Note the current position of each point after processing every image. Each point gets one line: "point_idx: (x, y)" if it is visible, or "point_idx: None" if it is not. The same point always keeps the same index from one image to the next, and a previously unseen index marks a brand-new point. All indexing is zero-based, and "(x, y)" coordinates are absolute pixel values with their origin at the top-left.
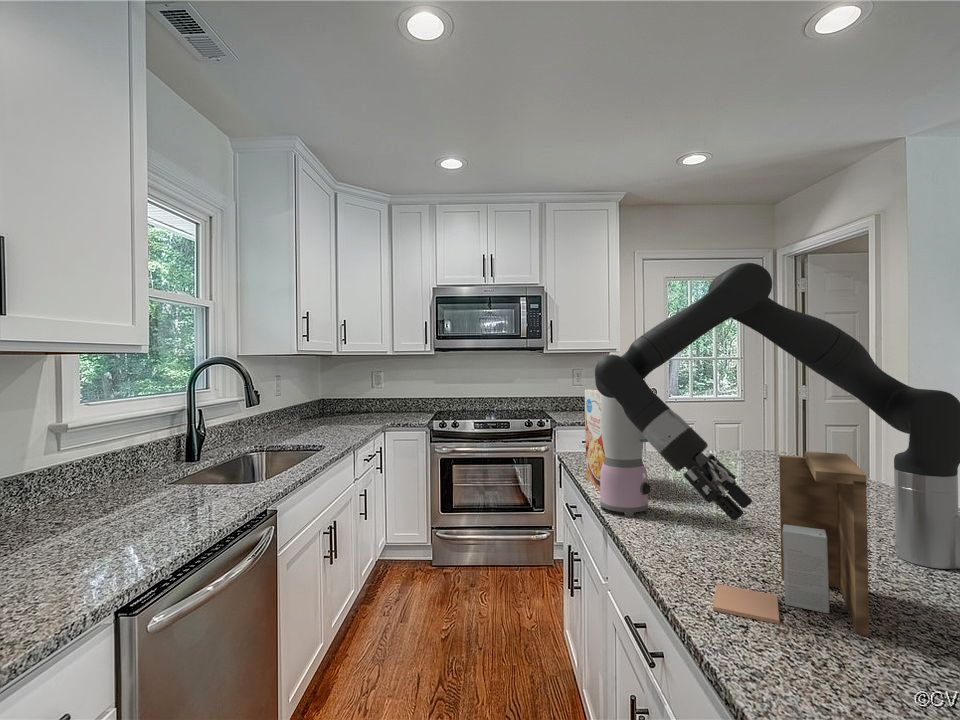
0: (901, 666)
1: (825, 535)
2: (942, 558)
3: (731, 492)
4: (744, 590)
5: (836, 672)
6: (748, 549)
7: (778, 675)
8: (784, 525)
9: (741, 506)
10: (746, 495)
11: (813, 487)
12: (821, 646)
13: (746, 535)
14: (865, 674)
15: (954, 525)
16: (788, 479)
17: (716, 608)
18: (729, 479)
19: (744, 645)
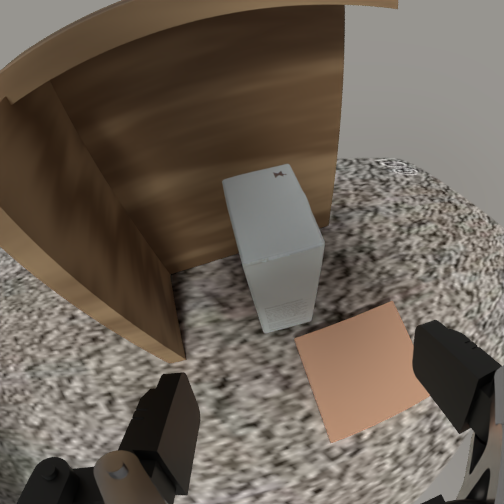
0: (365, 185)
1: (276, 167)
2: None
3: (181, 472)
4: (322, 390)
5: (436, 223)
6: (76, 435)
7: (489, 260)
8: (258, 257)
9: (199, 420)
10: (172, 393)
11: (64, 166)
12: (399, 246)
13: (22, 438)
14: (413, 204)
15: None
16: (36, 208)
17: None
18: (162, 498)
19: (476, 310)
